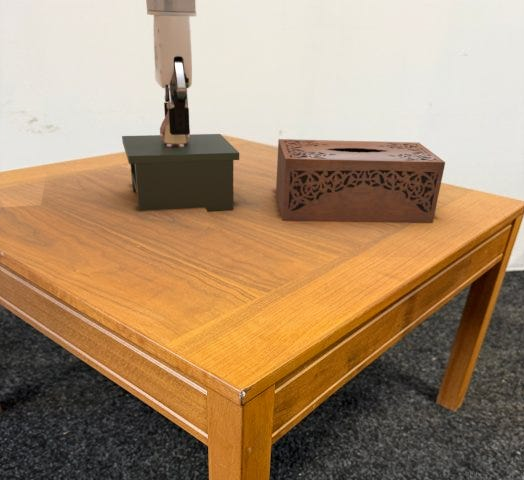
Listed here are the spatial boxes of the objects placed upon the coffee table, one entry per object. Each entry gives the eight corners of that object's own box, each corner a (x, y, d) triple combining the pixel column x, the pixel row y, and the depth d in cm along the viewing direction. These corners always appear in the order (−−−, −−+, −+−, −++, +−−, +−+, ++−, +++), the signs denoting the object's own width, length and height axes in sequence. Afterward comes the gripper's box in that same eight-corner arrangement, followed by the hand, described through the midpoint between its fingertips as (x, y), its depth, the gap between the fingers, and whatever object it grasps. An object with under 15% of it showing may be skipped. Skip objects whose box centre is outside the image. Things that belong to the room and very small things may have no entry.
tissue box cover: (282, 220, 92) (285, 158, 86) (275, 194, 104) (278, 139, 98) (432, 222, 93) (445, 162, 88) (409, 196, 106) (418, 142, 100)
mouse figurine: (189, 137, 99) (189, 96, 96) (190, 147, 92) (190, 104, 89) (160, 136, 98) (159, 95, 95) (159, 146, 92) (157, 103, 88)
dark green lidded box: (133, 215, 91) (128, 156, 86) (127, 189, 103) (121, 135, 98) (238, 209, 96) (239, 152, 91) (220, 185, 108) (220, 133, 103)
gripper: (141, 2, 89) (149, 121, 99) (152, 4, 76) (161, 142, 85) (187, 4, 91) (190, 121, 101) (206, 6, 77) (208, 141, 87)
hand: (177, 129), depth 93 cm, fingers closed on mouse figurine, 4 cm apart
